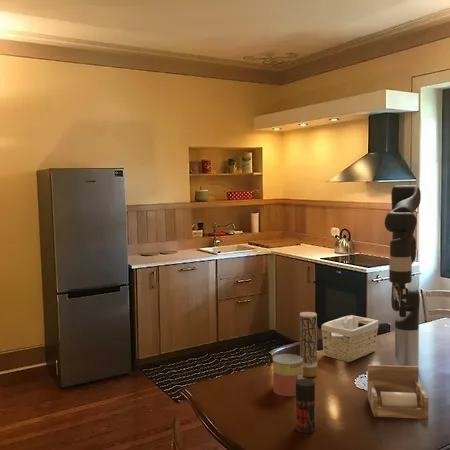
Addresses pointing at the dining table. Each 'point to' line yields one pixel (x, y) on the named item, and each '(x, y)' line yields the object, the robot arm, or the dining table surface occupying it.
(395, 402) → the white cylinder
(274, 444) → the dining table surface
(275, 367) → the canned food
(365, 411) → the dining table surface
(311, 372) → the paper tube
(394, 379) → the holder
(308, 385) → the deodorant
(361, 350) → the storage basket
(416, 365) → the robot arm
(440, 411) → the dining table surface
